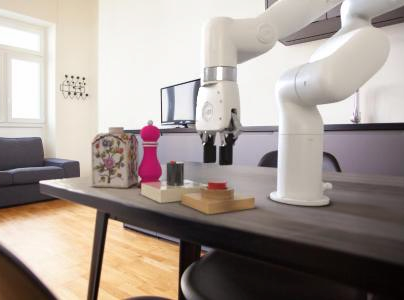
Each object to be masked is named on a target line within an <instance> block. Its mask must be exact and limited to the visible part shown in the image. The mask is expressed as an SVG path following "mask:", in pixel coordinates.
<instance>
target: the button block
mask: <svg viewBox="0 0 404 300" xmlns="http://www.w3.org/2000/svg"><path fill="white" fill-rule="evenodd" d="M181 204H182V205H184V206H187V207H189V208H191V209H194V210H197V211H199V212H201V213H204V214H206V215H213V214H219V213H227V212H234V211H241V210H242V211H243V210H250V209H255V197H253V196H249V195H246V194H242V193H237V192H235V188H234V187H232V186H229V185H227V189H224V190H215V189H208V184H206V186H202V187H201V192H199V193H188V194H182V201H181Z"/></svg>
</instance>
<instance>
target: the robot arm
mask: <svg viewBox="0 0 404 300" xmlns="http://www.w3.org/2000/svg"><path fill="white" fill-rule="evenodd" d="M341 3H342V4H341ZM340 4H341V6H340V21H341V28H340V29H339V30H338V31H337V32H335V33H334V34H333V35H332V36H331V37H330V38H328V39H327V40H326V41H325V42H323V43H322V44H321V45H320V46H319V47H317V49H316V50H314V52H313V54H312V55H311V56H310V59H309V62H306V63H303V64H300V65H296V66H294V67H291V68H289V69H288V70H285V71H284V72H283V73H282V74H281V75H279V77H278V79H277V80H276V83H275V87H274V94H275V95H274V96H275V101H276V106H277V117H278V137H277V138H278V139H277V175H276V182H277V183H276V191H272V192H270V193H269V198H270V199H271V200H272V201H275V202H278V203H281V204H288V205H292V206H303V207H304V206H305V207H320V206H327V205H329V204H330V198H329V196H327V195H325V194H324V192H327V191H332V189H333V184H332V183H331V182H324V181H323V167H324V165H323V164H324V163H323V162H324V136H325V135H324V134H325V125H324V120H323V117H322V115H321V113H320V111H319V108H318V107H317V106H321V105H328V104H335V103H340V102H343V101H344V100H346V99H349V98H350V97H351V96H353V95H354V94H355V93H357V91H359V90H360V89H361V88H362V87H363V86H364V85H365V84H366V83H367V82H368V81H369V80H371V79H372V78H373V77H374V76H375V75H376V74H377V73H378V72H379V71H380V70H381V69H383V67H384V66H385V65H386V62H387V61H388V58H389V55H390V51H391V43H390V39H389V37H388V35H387V33H386V32H385V31H384V30H382V29H381V28H378V27H376V26H373V24H372V19H374V18H376V17H379V16H381V15H384V14H386V13H389V12H391V11H394V10H397V9H399V8H402V7H404V0H276V1H275V2H274V3H273V4H271V6H269V7H268V8H266V9H265V10H263V12H261V13H260V14H258V15H257V16H255V17H247V18H233V17H229V16H214V17H211V18H208V19H206V21H204V22H203V24H202V26H201V33H200V34H201V37H200V39H201V40H200V41H201V42H200V43H201V45H200V46H201V47H200V63H201V64H200V87H199V90H198V95H197V100H196V110H195V111H196V112H195V130H196V133H197V135H198V136H199V138H200V140H201V145H202V146H203V148H202V150H203V151H202V152H203V154H202V162H203V164H216V163H217V145H216V137H217V133H219V139H220V145H219V146H218V165H219V166H232V165H233V162H234V161H233V159H234V152H233V151H234V147H235V146H236V142H237V140H238V139H239V137H240V135H242V133H244V131H245V129H244V128H245V127H244V126H243V124H242V122H241V101H240V100H241V99H240V98H241V97H240V91H239V84H238V83H237V82H238V81H237V80H238V65H241V64H244V63H246V62H248V61H251V60H253V59H255V58H258V57H260V56H262V55H264V54H266V53H268V52H269V51H271V50H272V49H273V48H274V47H275V46H276V44H277V42H278V41H280V40H281V39H284V38H287V37H288V36H290V35H292V34H293V35H294V33H297V32H299V31H300V30H302V29H304V28H306V27H307V26H309V25H310V24H312V23H313V22H315V21H316V20H318V19H319V18H321V17H322V16H323V15H325V14H326V13H328V12H329V11H331V10H332V9H334V8H335V7H337V6H339V5H340Z"/></svg>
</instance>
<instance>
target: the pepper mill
mask: <svg viewBox="0 0 404 300" xmlns="http://www.w3.org/2000/svg"><path fill="white" fill-rule="evenodd" d="M139 137H140V139H141V140H142V142H141V147H142V148H143V149H142V150H143V155H142V159H141V161H140V163H139V169H138V175H139V178H140V180H139V187H140V188H141V183H150V182H161V180H160V178H161V177H162V176H163V169H162V165H161V162H160V161H159V158H158V153H157V152H158V147H159V141H158V140H159V139H160V137H161V131H160V129H159V127H157V126H156V125H154V121H153V120H152V119H148V120H147V125H145V126H143V127H142V128H141V129H140V132H139Z"/></svg>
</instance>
